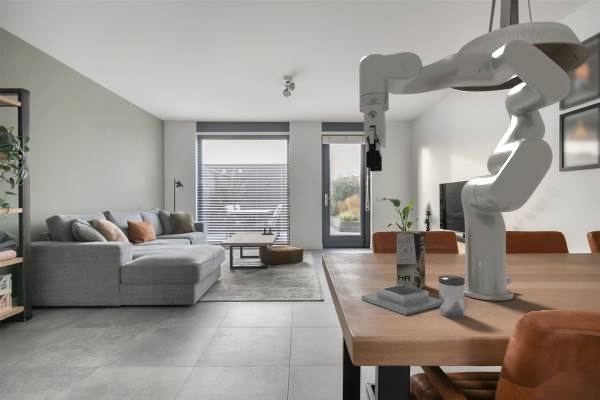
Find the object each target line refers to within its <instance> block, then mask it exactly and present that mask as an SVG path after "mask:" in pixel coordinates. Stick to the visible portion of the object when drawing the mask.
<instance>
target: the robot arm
mask: <svg viewBox="0 0 600 400" xmlns="http://www.w3.org/2000/svg"><path fill="white" fill-rule="evenodd" d="M358 67H359V69H358V73H359V75H358V76H359V77H358V80H359V86H358V87H359V90H358V91H359V112H360V113H362V114H363V131H364V132H363V135H364V143H365V146H366V152H365V161H366V162H365V166H366V168H367V169H369V171H370V172H382V171H383V156H382V150H381V149H386V147H387V145H386V144H387V142H386V140H387V138H386V137H387V135H386V134H387V133H386V130H387V129H386V112H387V111H388V110H390V109H389V108H390V105H389V103H390V102H389V101H390V100H389V99H390V97H389V95H390V94H393V95H417V94H424V93H430V92H434V91H435V92H436V91H441V90H446V89H449V88H450V89H451V88H460V87H461V88H464V87H492V86H494V87H495V86H500V85H502V84H504V83H506V82H509V81H510V80H512V79H514V78H515V77H518V79H520V80H521V81H522V82H520V83H518V84H516V85H515V86H513V87H512V88H511V89H510V90H508V92H507V94H506V96H505V101H504V104H505V105H504V106H505V109H506V111H507V114H508V117H509V126H508V129H507V130H506V132H505V133H504V134H503V136H502V138H501V139H500V141H499V142H498V143H497V145H495V146H496V147H494V149H493V151H492V152H491V153H490V155H489V157H488V159H487V162H486V168H487V170H488V172H489V173H490V174H487V175H480V176H479V175H478V176H477V177H476V176H475V177H474V178H471V179H470V180H468V181H467V182H466V183H465V184H463V187H462V190H461V193H460V198H461V199H460V201H461V205H462V206H461V207H462V210H463V216H464V217H463V218H464V233H465V234H464V247H465V249H464V255H465V257H464V259H465V261H464V262H465V263H464V264H465V272H464V273H465V284H464V297H465V296H466V297H468V298H473V299H477V300H483V301H494V302H495V301H496V302H497V301H502V302H503V301H504V302H505V301H509V300H512V299H514V292H513V291H511V290H509V289H507V286H508V285H511V284H512V283H513V279H512V278H511V277H509V276H507V244H506V243H507V241H506V240H507V231H506V224H505V222H506V221H505V218H504V216H503V214H502V213H510V212H511V213H512V212H515V211H517V210H519V209H521V208H522V207H523V206H524V205H525V204H526V203H527V202H528V201H529V200H530V198H531V197H532V195H533V194H534V193H535V191H536V190H537V188H538V187H539V185H540V184H541V182H542V181H543V179H544V178H545V177H546V175H547V174H548V171H549V170H550V169H551V166H552V163H553V150H552V148H551V145H550V144H549V143H548V142H547V141H546V140H544V137H545V134H546V125H545V123H544V120H543V118H542V115H541V113H540V109H541V110H542V109H544V108H546V107H549V106H552V105H555V104H557V103H559V102H561V101H562V100H564V99H565V98H566V97H567V96H568V95H569V93H570V90H571V85H572V84H571V78H570V77H569V76H568V73H567V72H566V71H565V70H564V69H563V68H561V66H560V65H558V64H557V63H556V62H555V61H554V60H552V59H551V58H550V57H549V56H548V55H547V54H545V53H544V52H543V51H542V50H541V49H539V48H538V47H537V46H535V45H533V44H532V43H530V42H528V41H526V40H524V39H519V38H516V39H515V38H514V39H512V40H509V41H507V42H506V43H504V44H503V45H501V46H500V47H498V48H497V49H496V50H494V51H489V52H487V51H486V52H485V51H483V52H455V53H452V54H449V55H446V56H444V57H442V58H440V59H439V60H437V61H434V62H433V63H432V62H431V63H430V64H427V65H424V66H423V62H422V58H421V57H420V56H419V55H418V54H416V53H414V52H409V51H403V52H398V53H396V52H395V53H392V54H381V53H373V54H368V55H365V56H364V57H362V58H361V60H360V61H359V66H358Z"/></svg>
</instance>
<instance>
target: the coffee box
mask: <svg viewBox="0 0 600 400" xmlns="http://www.w3.org/2000/svg"><path fill="white" fill-rule="evenodd" d="M400 284H401V285H405V286H409V287H413V288H417V289H421V290H423V288H425V286H426V232H425V231H406V230H405V231H400V232H396V285H400Z"/></svg>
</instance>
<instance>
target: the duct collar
mask: <svg viewBox="0 0 600 400" xmlns="http://www.w3.org/2000/svg"><path fill="white" fill-rule="evenodd" d="M429 292H430V291H428V290H425V289H417V288H413V287H409V286H405V285H401V284H400V285H397V284H395V285H390V286H385V287H379V288H377V289H376V292H374V293H371V294H370V293H369V294H364V295H361V301H364V302H367V303H370V304H372V305H375V306H378V307H381V308H383V309H387V310H389V311H392V312H395V313H398V314H400V315H403V316H407V315H409V316H410V315H411V314H416V313H419V312H424V311H428V310H431V309H435V308H439V298H437V297H433V296H430V294H429Z"/></svg>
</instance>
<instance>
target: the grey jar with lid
mask: <svg viewBox="0 0 600 400" xmlns="http://www.w3.org/2000/svg"><path fill="white" fill-rule="evenodd" d="M464 285H466V278H465V277H461V276H457V275H447V274H446V275H439V276H438V289H439V290H438V293H439V295H438V297H439V298H438V299H439V307H438V308H439V315H440V316H442V317H444V318H449V319H463V318H465V316H466V315H465V312H466V311H465V295H464Z"/></svg>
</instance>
